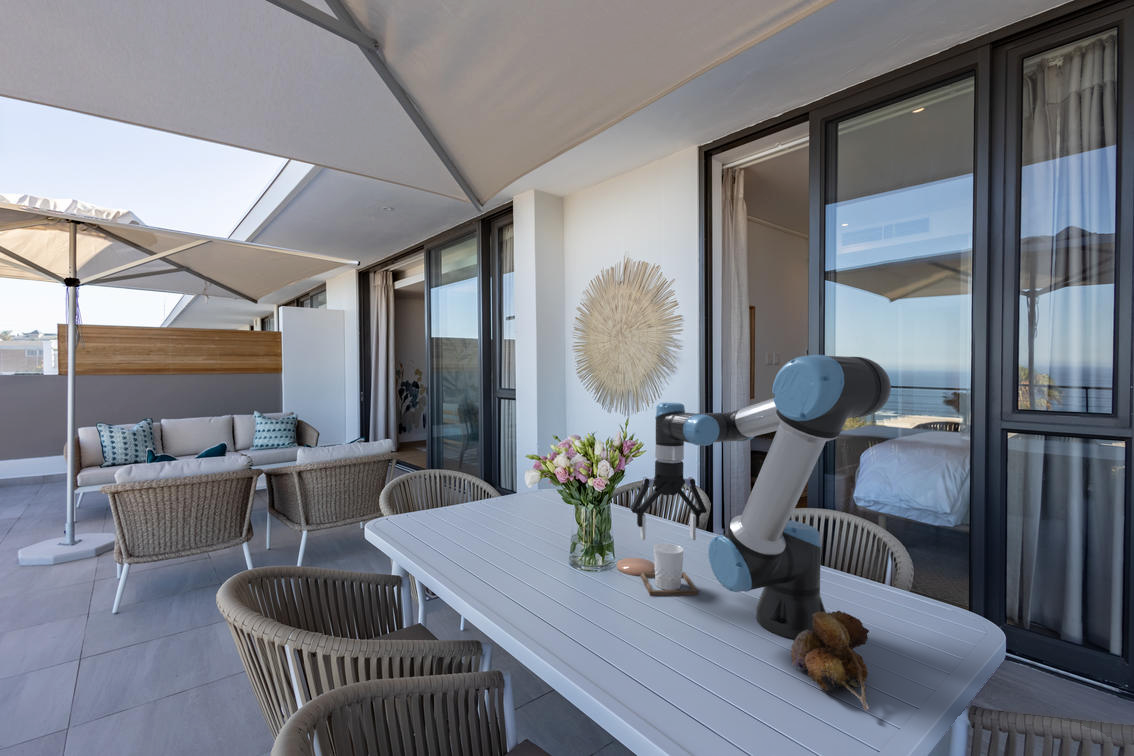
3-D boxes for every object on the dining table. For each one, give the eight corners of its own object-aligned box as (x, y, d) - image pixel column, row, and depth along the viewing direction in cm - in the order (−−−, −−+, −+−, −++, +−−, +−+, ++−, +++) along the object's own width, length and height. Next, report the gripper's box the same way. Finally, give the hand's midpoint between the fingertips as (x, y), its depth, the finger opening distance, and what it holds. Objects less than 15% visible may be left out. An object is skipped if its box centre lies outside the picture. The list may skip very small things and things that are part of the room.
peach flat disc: (658, 575, 145) (658, 571, 145) (620, 575, 144) (620, 572, 144) (650, 561, 156) (650, 557, 156) (614, 561, 155) (614, 558, 155)
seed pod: (902, 643, 96) (821, 595, 106) (891, 660, 84) (801, 605, 93) (873, 705, 97) (796, 652, 106) (858, 731, 84) (772, 669, 94)
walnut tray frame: (698, 594, 132) (698, 591, 132) (650, 595, 131) (650, 591, 131) (684, 575, 144) (684, 572, 144) (640, 576, 144) (640, 572, 144)
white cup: (681, 580, 141) (681, 544, 141) (685, 592, 133) (685, 554, 133) (652, 578, 142) (652, 543, 142) (654, 590, 134) (654, 552, 134)
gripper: (710, 458, 142) (708, 533, 142) (621, 457, 141) (619, 534, 141) (719, 463, 134) (718, 543, 135) (625, 462, 133) (624, 543, 134)
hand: (667, 538), depth 138 cm, fingers open, 13 cm apart
